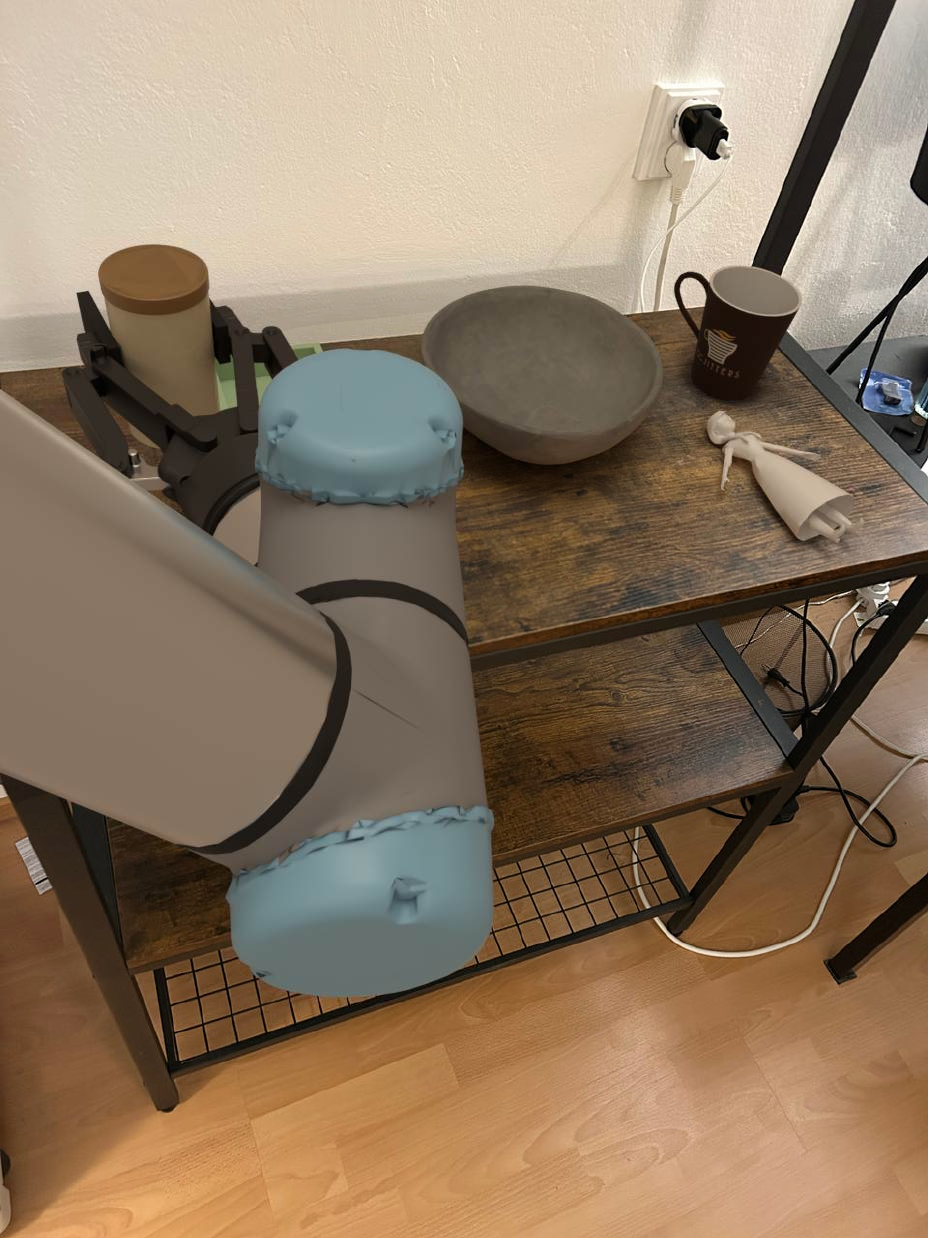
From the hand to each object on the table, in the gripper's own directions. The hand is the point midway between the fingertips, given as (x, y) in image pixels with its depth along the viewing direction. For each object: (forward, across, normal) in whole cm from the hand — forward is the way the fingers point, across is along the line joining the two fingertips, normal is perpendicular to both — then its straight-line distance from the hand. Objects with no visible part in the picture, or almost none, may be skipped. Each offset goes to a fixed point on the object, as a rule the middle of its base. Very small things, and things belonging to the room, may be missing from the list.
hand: (138, 301), depth 63 cm
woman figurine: (-18, +48, -18) cm, 55 cm away
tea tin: (-5, 0, -6) cm, 8 cm away
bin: (+8, +12, -18) cm, 23 cm away
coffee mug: (-2, +55, -18) cm, 58 cm away
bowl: (-2, +33, -18) cm, 38 cm away
